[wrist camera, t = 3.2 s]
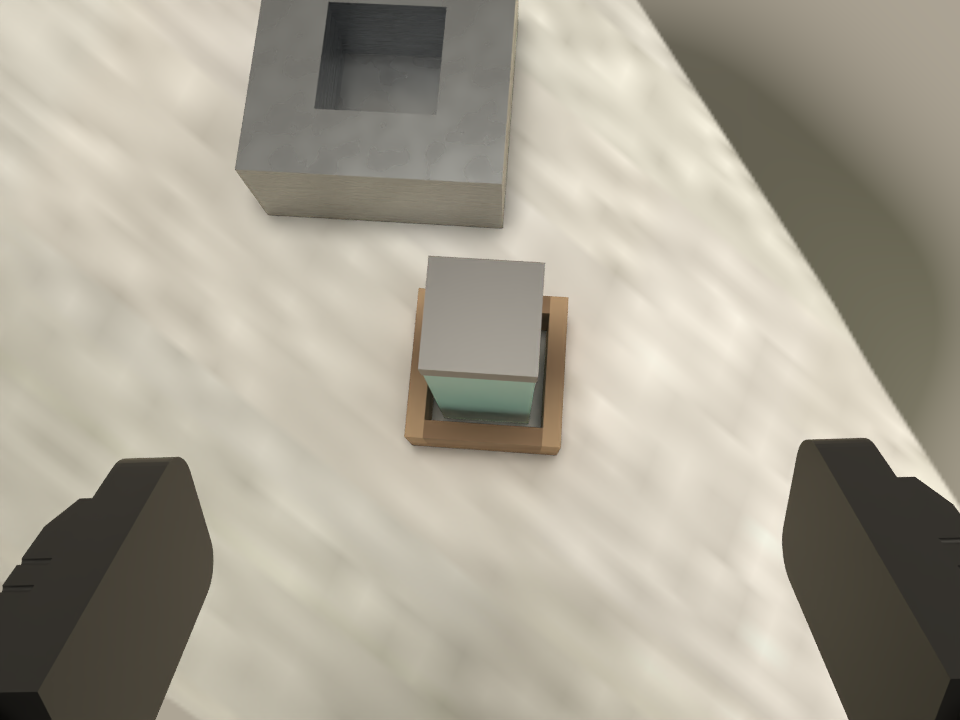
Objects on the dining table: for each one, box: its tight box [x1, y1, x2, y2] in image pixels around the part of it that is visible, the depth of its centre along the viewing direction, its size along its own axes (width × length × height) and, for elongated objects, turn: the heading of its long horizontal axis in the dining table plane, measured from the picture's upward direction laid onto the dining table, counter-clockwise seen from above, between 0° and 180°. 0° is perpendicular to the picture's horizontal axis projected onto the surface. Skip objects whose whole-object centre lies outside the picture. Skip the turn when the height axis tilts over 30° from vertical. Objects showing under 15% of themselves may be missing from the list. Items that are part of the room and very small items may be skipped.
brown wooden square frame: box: [404, 288, 568, 455], centre depth 37 cm, size 7×7×3 cm
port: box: [235, 0, 518, 228], centre depth 39 cm, size 12×12×5 cm
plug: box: [418, 256, 545, 424], centre depth 33 cm, size 4×4×11 cm
